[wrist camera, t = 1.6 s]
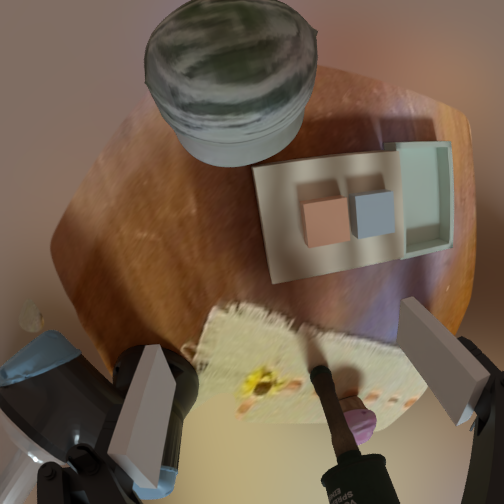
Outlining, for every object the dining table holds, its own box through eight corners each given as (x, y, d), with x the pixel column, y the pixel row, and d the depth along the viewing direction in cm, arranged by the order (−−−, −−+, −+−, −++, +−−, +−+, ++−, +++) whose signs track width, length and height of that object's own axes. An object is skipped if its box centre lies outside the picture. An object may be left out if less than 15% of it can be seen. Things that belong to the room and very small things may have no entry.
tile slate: (352, 234, 35) (358, 239, 33) (348, 193, 33) (355, 196, 31) (387, 228, 35) (394, 232, 33) (385, 188, 33) (393, 191, 31)
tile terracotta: (304, 242, 35) (308, 248, 33) (299, 201, 33) (303, 204, 31) (344, 235, 35) (350, 240, 33) (340, 194, 33) (346, 197, 31)
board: (268, 268, 41) (272, 284, 36) (250, 166, 36) (253, 168, 32) (387, 245, 41) (403, 257, 36) (380, 150, 36) (398, 151, 31)
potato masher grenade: (302, 351, 46) (353, 521, 18) (349, 353, 47) (420, 502, 19) (289, 387, 49) (323, 542, 20) (333, 388, 50) (383, 528, 21)
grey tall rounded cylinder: (253, 71, 32) (293, -76, 6) (288, 141, 35) (414, 124, 9) (181, 104, 33) (66, 13, 7) (216, 174, 36) (166, 234, 10)
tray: (390, 251, 41) (401, 259, 38) (383, 142, 36) (395, 142, 33) (440, 240, 41) (452, 247, 38) (437, 140, 36) (450, 141, 32)
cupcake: (357, 414, 53) (372, 449, 44) (319, 419, 53) (330, 456, 43) (370, 386, 50) (388, 422, 41) (329, 390, 50) (344, 429, 40)
